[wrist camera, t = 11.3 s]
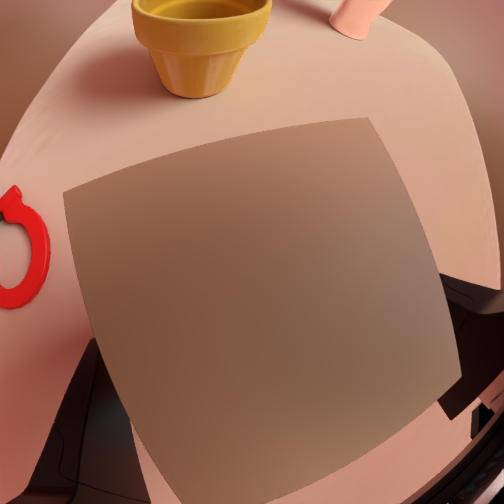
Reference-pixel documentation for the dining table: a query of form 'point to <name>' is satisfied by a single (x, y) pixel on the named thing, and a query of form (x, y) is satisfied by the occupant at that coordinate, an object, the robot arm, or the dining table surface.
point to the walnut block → (263, 306)
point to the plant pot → (198, 40)
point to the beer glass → (356, 16)
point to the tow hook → (32, 221)
